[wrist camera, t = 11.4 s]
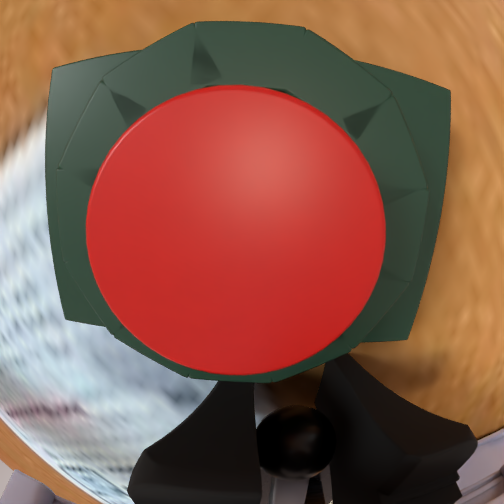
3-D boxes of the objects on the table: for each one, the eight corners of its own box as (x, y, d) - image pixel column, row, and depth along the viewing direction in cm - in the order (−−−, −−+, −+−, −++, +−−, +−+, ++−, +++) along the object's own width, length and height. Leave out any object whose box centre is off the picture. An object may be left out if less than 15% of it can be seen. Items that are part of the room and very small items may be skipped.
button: (353, 120, 4) (404, 108, 3) (327, 317, 5) (352, 377, 4) (135, 109, 4) (83, 92, 3) (140, 305, 5) (105, 361, 4)
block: (419, 97, 7) (497, 81, 4) (386, 312, 9) (435, 379, 6) (83, 78, 7) (7, 54, 3) (88, 295, 9) (33, 355, 5)
